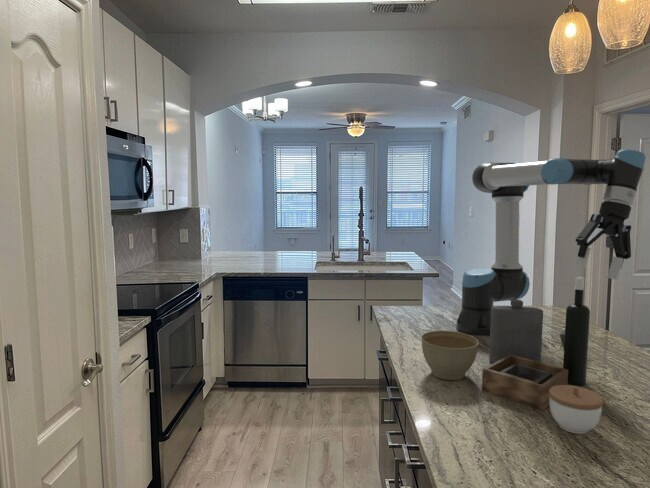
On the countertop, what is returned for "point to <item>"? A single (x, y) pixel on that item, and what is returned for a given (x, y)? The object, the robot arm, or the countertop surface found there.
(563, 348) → the electrical switch
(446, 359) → the planter bowl
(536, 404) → the crate
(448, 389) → the countertop surface
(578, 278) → the wine bottle
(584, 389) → the lidded jar
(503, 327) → the flask
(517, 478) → the countertop surface
